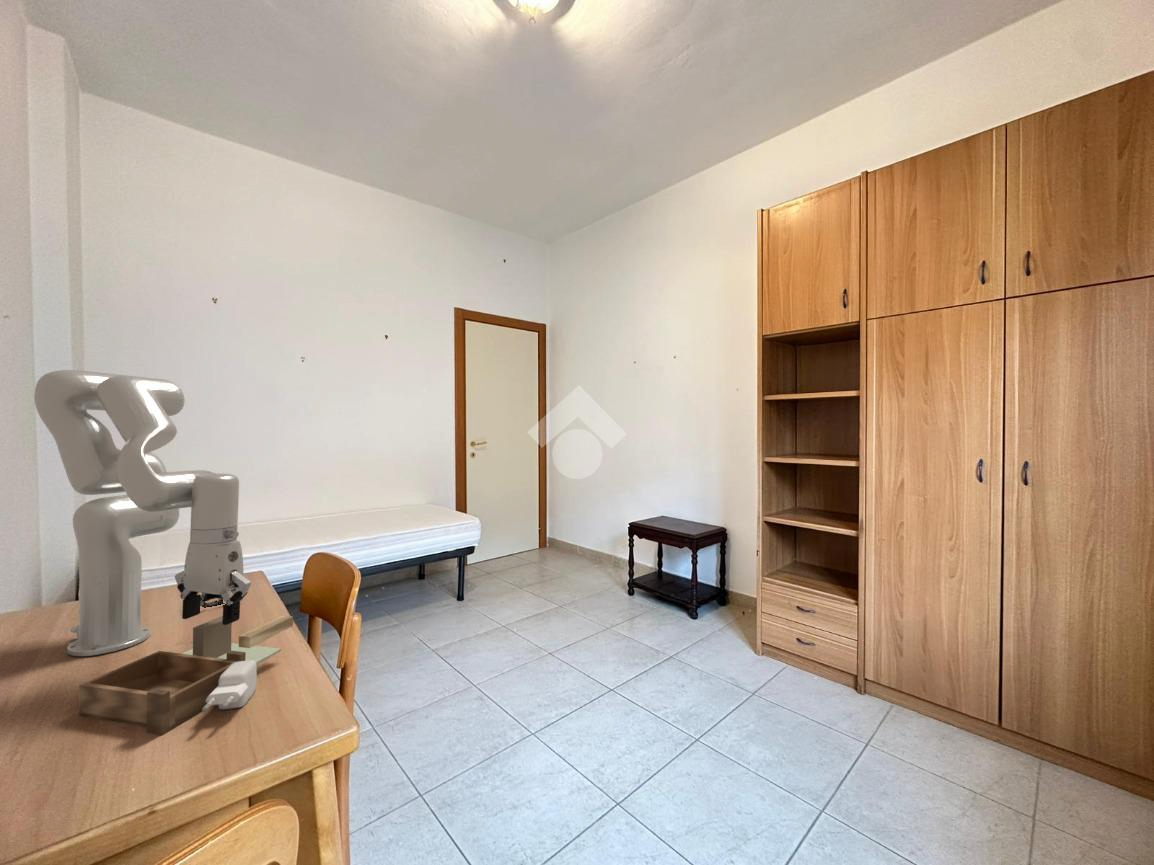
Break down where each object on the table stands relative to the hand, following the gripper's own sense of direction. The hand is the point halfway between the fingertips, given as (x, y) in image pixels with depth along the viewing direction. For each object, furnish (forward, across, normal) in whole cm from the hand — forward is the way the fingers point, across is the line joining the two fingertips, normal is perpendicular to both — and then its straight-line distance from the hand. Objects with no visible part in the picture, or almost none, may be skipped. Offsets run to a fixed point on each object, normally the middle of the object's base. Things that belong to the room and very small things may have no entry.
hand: (210, 619), depth 94 cm
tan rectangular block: (+1, -14, +1) cm, 14 cm away
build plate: (+10, +27, -24) cm, 37 cm away
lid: (+8, -2, 0) cm, 9 cm away
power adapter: (+7, -20, +14) cm, 25 cm away
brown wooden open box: (+8, -7, +14) cm, 17 cm away
